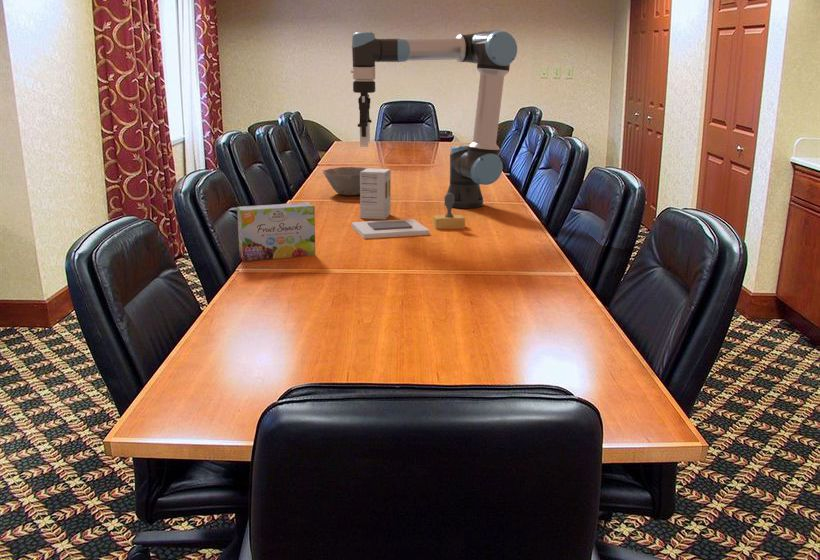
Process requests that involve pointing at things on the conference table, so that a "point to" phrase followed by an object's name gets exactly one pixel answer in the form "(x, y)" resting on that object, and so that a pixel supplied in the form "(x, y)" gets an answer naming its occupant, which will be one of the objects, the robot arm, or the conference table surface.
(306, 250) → the snack box
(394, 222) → the pad
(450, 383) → the conference table surface
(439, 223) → the rubber stamp
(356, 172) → the ceramic bowl
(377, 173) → the supplement box
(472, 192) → the robot arm
